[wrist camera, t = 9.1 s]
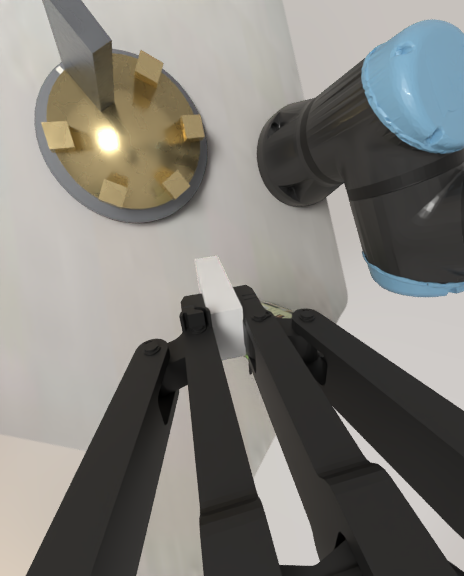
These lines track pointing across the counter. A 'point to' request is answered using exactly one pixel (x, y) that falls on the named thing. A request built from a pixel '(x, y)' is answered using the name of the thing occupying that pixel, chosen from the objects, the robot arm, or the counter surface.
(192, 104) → the grey round base
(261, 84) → the counter surface
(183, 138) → the gold disc with cubes
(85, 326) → the counter surface
